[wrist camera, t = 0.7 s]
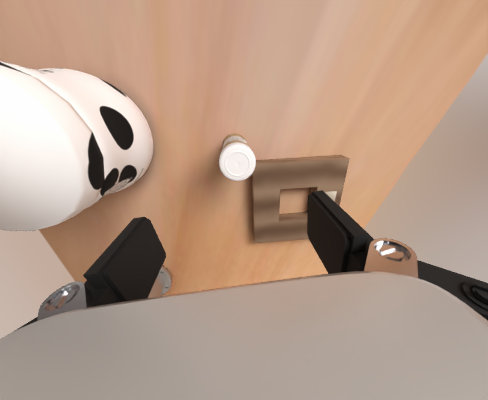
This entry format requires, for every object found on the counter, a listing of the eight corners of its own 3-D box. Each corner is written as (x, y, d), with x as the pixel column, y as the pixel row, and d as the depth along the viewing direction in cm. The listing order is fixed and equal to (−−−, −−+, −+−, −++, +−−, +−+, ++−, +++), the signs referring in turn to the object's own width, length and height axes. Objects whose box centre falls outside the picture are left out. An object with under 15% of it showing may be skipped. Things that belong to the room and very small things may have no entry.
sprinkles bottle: (244, 159, 35) (252, 184, 23) (221, 155, 34) (216, 179, 22) (248, 134, 33) (259, 148, 21) (224, 130, 32) (220, 141, 20)
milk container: (48, 53, 26) (-245, -40, 10) (169, 104, 30) (98, 95, 14) (52, 163, 33) (-120, 213, 17) (150, 193, 37) (89, 257, 21)
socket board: (326, 229, 44) (333, 237, 41) (253, 234, 43) (254, 243, 40) (340, 155, 36) (350, 158, 33) (251, 160, 35) (253, 164, 32)
